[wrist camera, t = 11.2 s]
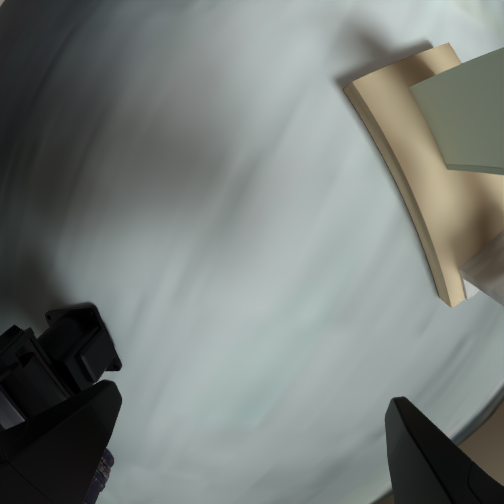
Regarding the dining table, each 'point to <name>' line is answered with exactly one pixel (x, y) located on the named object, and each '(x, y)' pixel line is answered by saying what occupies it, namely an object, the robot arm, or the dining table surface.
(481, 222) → the tan board with upright
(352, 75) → the dining table surface
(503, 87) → the sage book
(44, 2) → the dining table surface
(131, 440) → the dining table surface
